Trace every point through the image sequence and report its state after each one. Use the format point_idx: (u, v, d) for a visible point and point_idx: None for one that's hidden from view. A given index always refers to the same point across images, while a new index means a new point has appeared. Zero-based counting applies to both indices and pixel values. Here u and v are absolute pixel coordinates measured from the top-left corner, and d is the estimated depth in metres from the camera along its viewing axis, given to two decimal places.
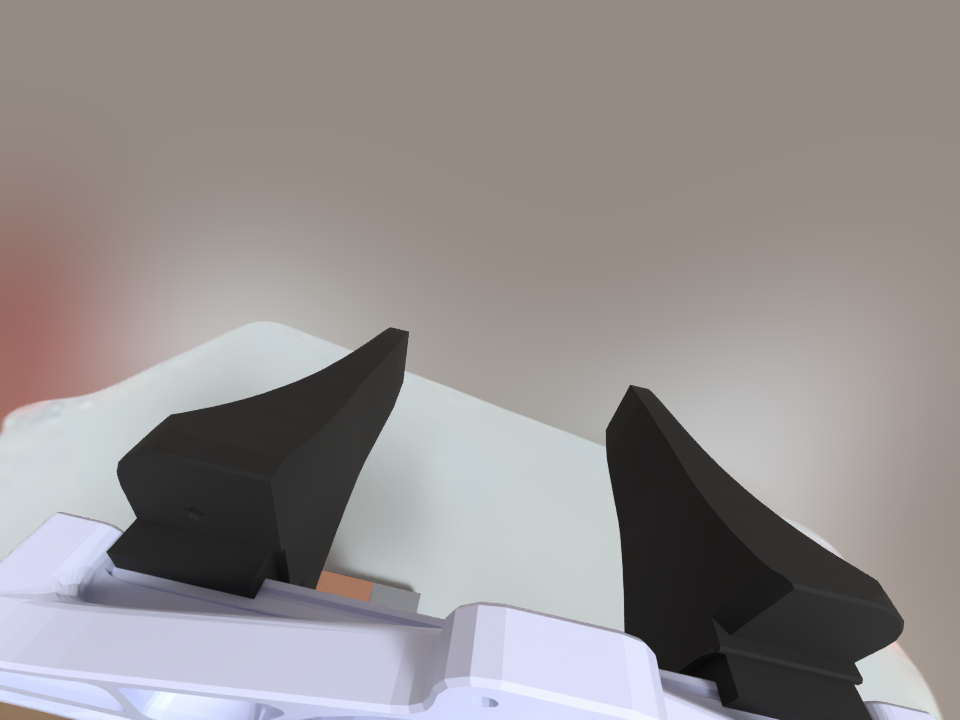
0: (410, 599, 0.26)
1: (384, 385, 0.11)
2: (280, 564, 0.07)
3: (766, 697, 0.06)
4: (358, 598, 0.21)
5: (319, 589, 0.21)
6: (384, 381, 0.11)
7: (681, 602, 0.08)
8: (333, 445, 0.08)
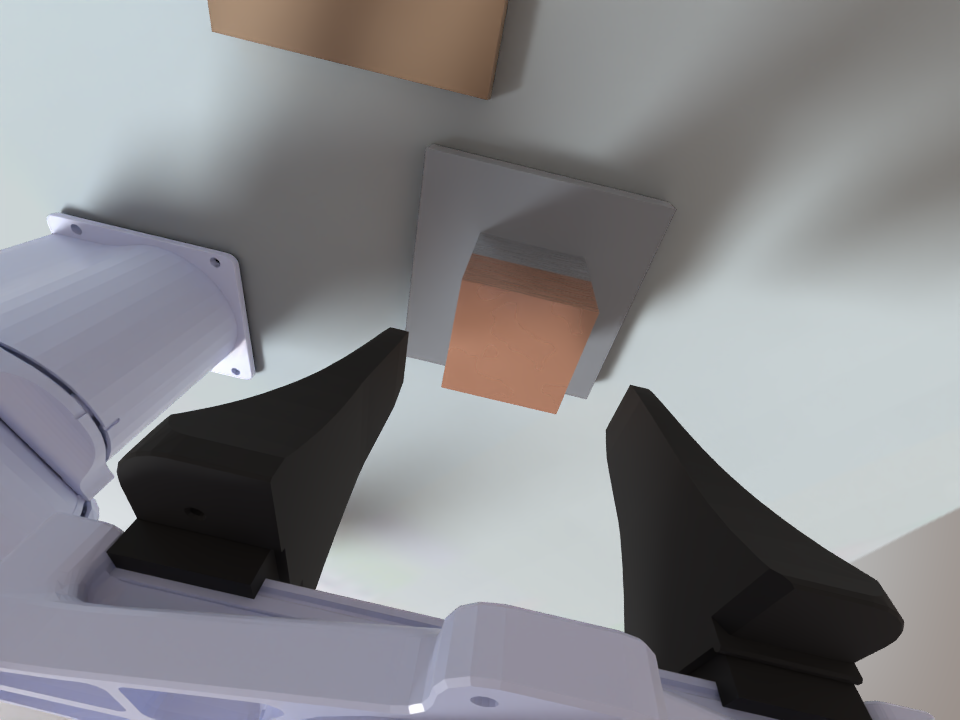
0: (580, 388, 0.21)
1: (384, 385, 0.11)
2: (280, 564, 0.07)
3: (766, 697, 0.06)
4: (535, 399, 0.16)
5: (551, 356, 0.14)
6: (384, 381, 0.11)
7: (681, 602, 0.08)
8: (333, 445, 0.08)
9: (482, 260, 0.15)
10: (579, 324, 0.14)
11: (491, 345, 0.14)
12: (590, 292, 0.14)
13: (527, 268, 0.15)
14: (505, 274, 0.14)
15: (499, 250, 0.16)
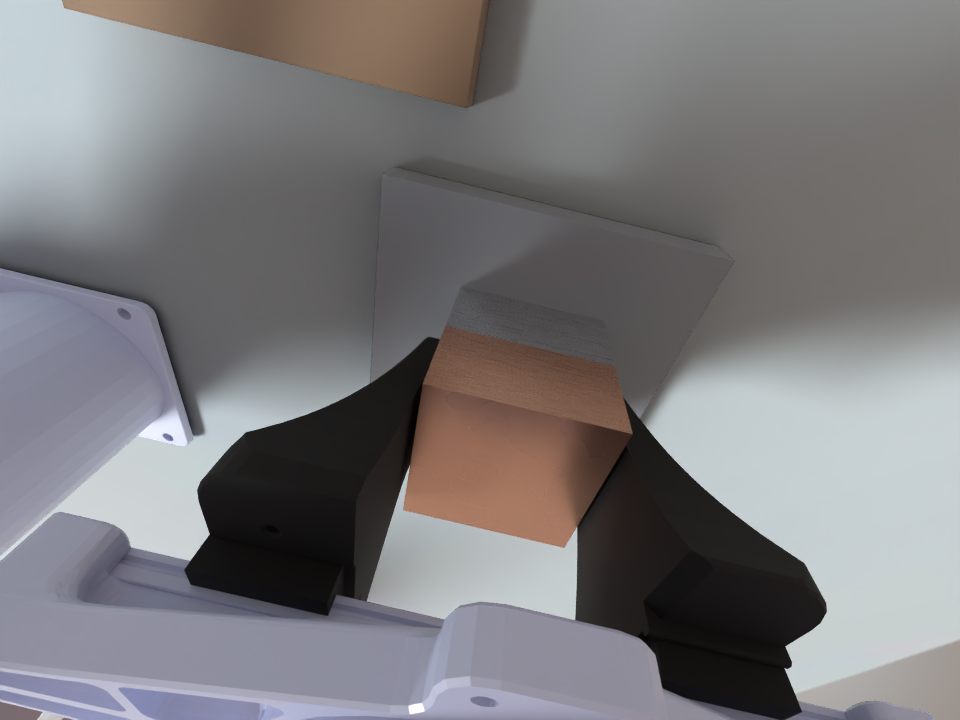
0: None
1: None
2: (348, 580, 0.07)
3: (691, 680, 0.06)
4: (535, 530, 0.11)
5: (558, 482, 0.10)
6: None
7: (620, 588, 0.08)
8: (392, 459, 0.08)
9: (458, 340, 0.10)
10: (602, 446, 0.09)
11: (471, 466, 0.10)
12: (615, 389, 0.10)
13: (523, 348, 0.11)
14: (492, 363, 0.10)
15: (484, 317, 0.11)
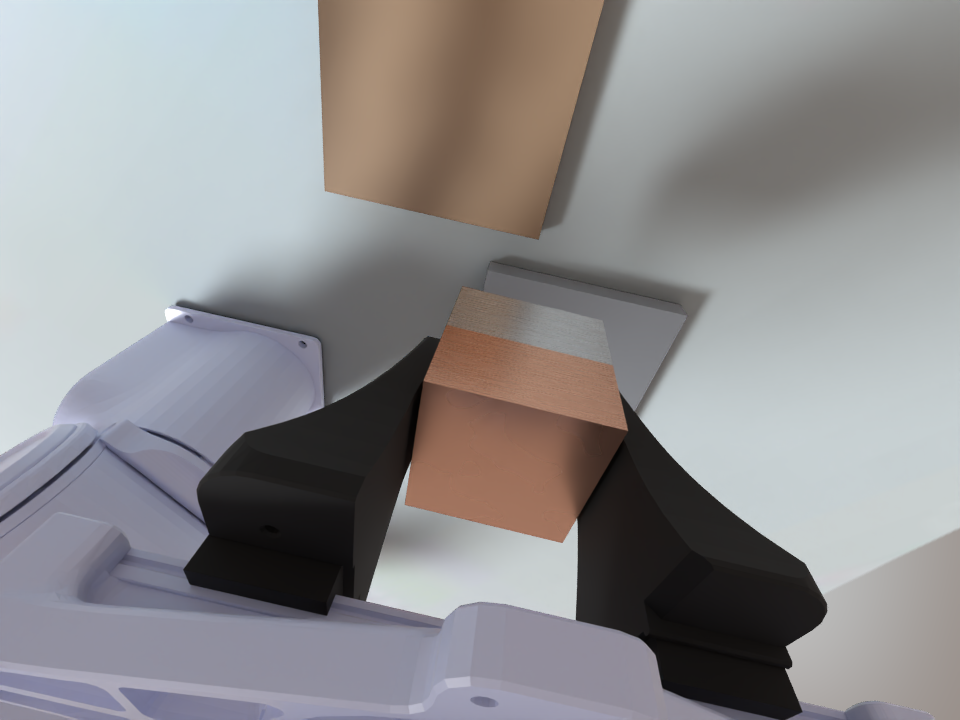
0: None
1: None
2: (347, 579, 0.07)
3: (692, 680, 0.06)
4: (533, 525, 0.11)
5: (556, 478, 0.10)
6: None
7: (621, 588, 0.08)
8: (391, 458, 0.08)
9: (459, 338, 0.10)
10: (598, 443, 0.09)
11: (471, 462, 0.10)
12: (613, 387, 0.10)
13: (523, 347, 0.11)
14: (491, 362, 0.10)
15: (485, 316, 0.12)
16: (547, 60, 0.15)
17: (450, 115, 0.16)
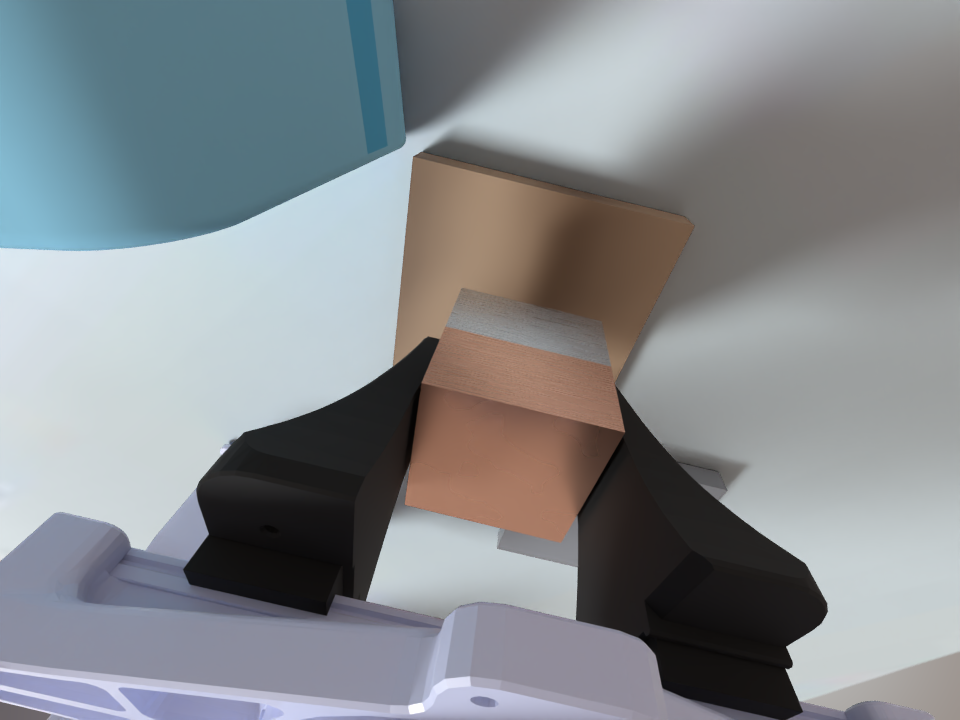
0: None
1: None
2: (346, 579, 0.07)
3: (692, 680, 0.06)
4: (532, 525, 0.11)
5: (554, 479, 0.10)
6: None
7: (621, 588, 0.08)
8: (391, 458, 0.08)
9: (457, 340, 0.11)
10: (595, 445, 0.09)
11: (470, 462, 0.10)
12: (610, 388, 0.10)
13: (521, 348, 0.11)
14: (489, 363, 0.10)
15: (484, 318, 0.12)
16: (614, 305, 0.16)
17: None
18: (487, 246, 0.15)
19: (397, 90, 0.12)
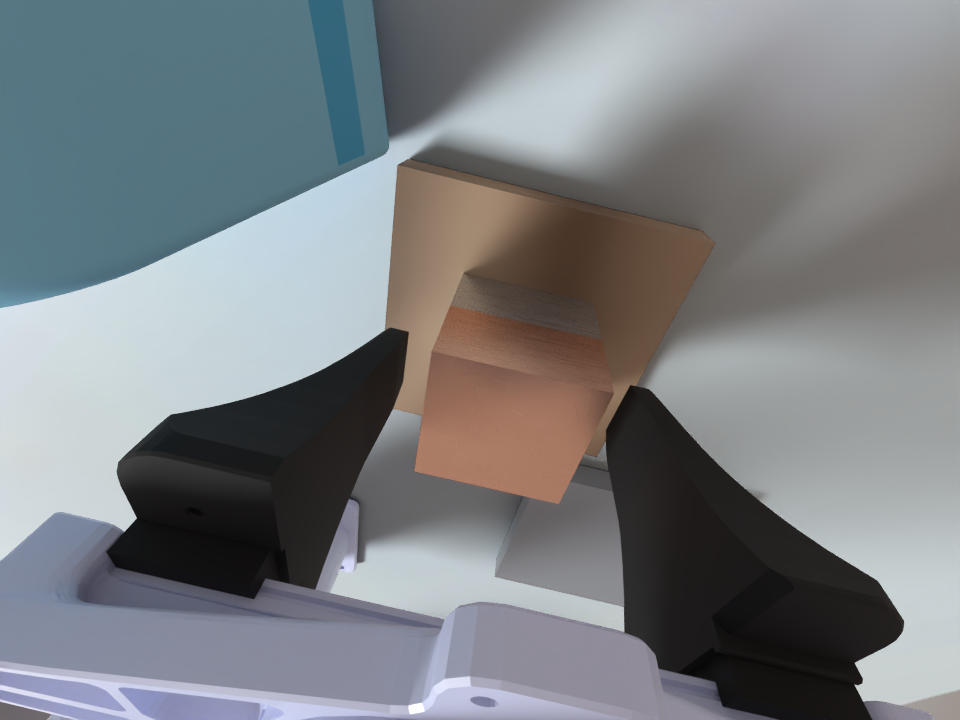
0: None
1: (384, 385, 0.11)
2: (280, 564, 0.07)
3: (766, 697, 0.06)
4: (532, 488, 0.12)
5: (551, 440, 0.11)
6: (384, 381, 0.11)
7: (681, 602, 0.08)
8: (333, 445, 0.08)
9: (462, 317, 0.12)
10: (588, 406, 0.10)
11: (474, 427, 0.11)
12: (601, 358, 0.11)
13: (520, 324, 0.12)
14: (492, 336, 0.11)
15: (485, 299, 0.13)
16: (623, 329, 0.14)
17: None
18: (482, 263, 0.14)
19: (377, 90, 0.11)
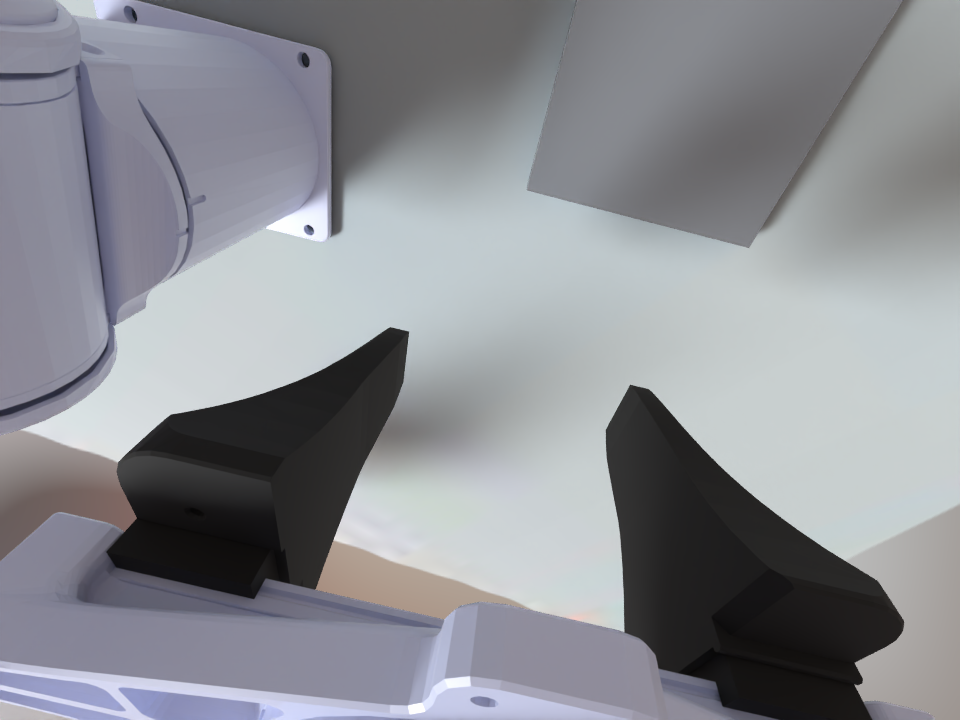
0: (745, 232, 0.17)
1: (384, 385, 0.11)
2: (280, 564, 0.07)
3: (766, 697, 0.06)
4: None
5: None
6: (384, 381, 0.11)
7: (681, 602, 0.08)
8: (333, 445, 0.08)
9: None
10: None
11: None
12: None
13: None
14: None
15: None
16: None
17: None
18: None
19: None
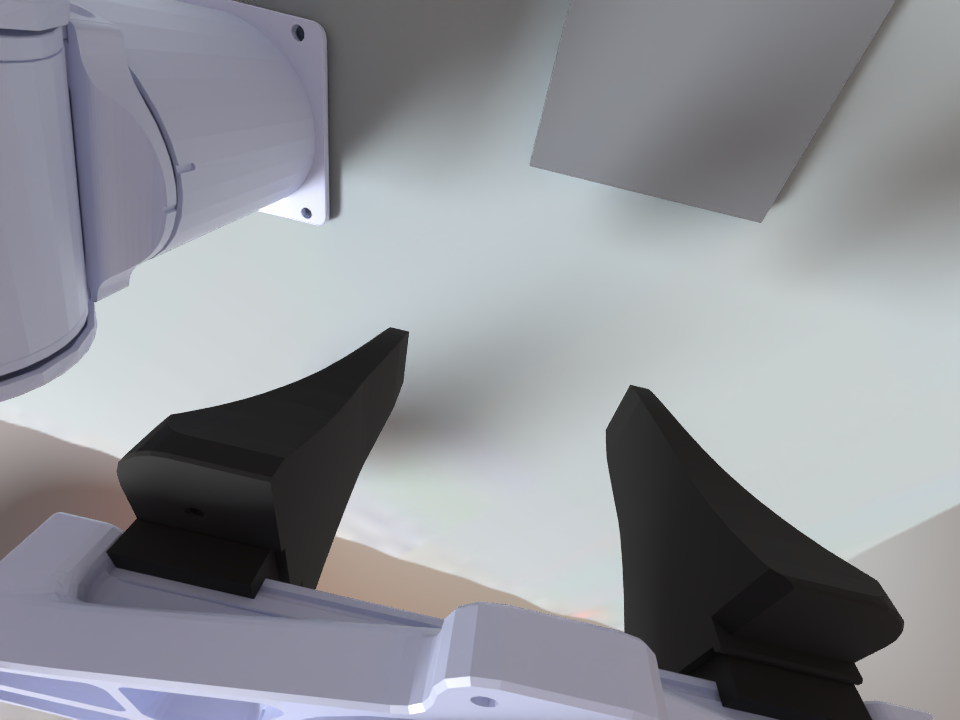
0: (757, 206, 0.17)
1: (384, 385, 0.11)
2: (280, 564, 0.07)
3: (766, 697, 0.06)
4: None
5: None
6: (384, 381, 0.11)
7: (681, 602, 0.08)
8: (333, 445, 0.08)
9: None
10: None
11: None
12: None
13: None
14: None
15: None
16: None
17: None
18: None
19: None
